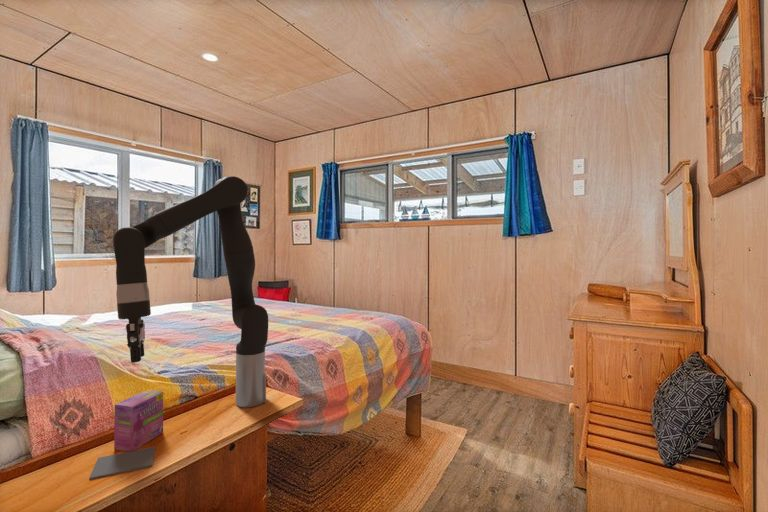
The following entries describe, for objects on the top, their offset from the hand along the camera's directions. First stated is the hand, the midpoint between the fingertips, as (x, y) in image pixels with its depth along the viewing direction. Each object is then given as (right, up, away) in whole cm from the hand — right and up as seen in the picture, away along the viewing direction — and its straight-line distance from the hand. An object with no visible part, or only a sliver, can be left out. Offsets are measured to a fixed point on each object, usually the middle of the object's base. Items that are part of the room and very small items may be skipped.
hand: (138, 359), depth 102 cm
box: (+2, -22, -2) cm, 22 cm away
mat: (+5, -22, -12) cm, 25 cm away
